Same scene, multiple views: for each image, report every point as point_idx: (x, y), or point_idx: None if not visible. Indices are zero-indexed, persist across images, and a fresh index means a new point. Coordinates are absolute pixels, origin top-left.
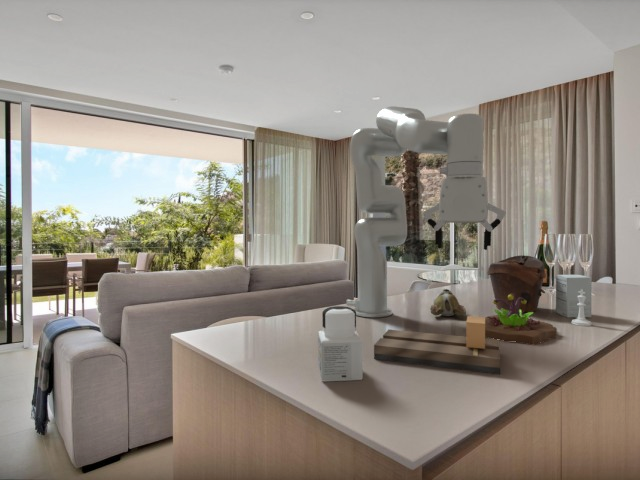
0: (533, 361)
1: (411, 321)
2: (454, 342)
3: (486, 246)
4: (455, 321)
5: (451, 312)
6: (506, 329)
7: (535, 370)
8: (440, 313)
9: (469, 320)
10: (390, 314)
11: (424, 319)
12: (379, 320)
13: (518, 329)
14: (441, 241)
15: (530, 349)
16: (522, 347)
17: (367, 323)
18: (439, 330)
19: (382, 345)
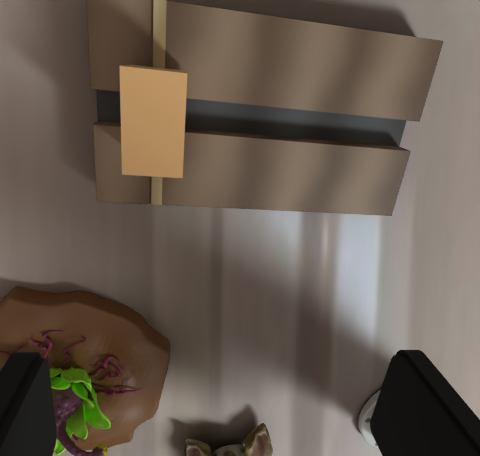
0: (11, 141)
1: (313, 380)
2: (218, 135)
3: (9, 370)
4: (209, 412)
5: (219, 450)
6: (79, 334)
7: (2, 61)
8: (246, 436)
9: (176, 105)
10: (362, 409)
11: (282, 404)
12: (388, 364)
13: (46, 334)
14: (421, 403)
15: (22, 243)
16: (43, 254)
17: (417, 332)
18: (248, 330)
19: (420, 42)
